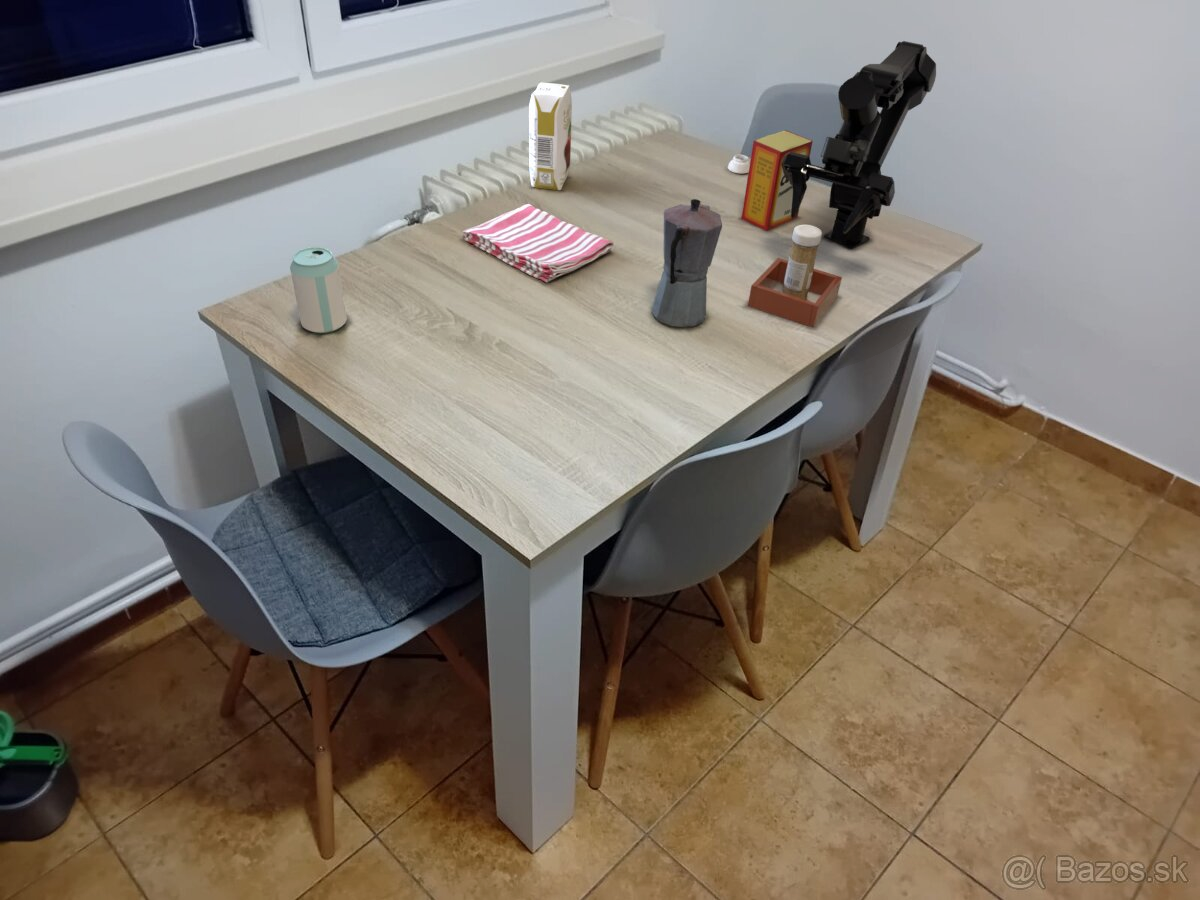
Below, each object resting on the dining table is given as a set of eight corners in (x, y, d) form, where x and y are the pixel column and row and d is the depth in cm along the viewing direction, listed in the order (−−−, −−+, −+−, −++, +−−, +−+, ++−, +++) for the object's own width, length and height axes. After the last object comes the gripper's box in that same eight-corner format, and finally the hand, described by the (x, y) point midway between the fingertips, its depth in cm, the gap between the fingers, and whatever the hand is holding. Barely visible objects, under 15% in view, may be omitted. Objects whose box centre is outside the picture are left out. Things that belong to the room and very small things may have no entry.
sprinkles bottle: (811, 304, 156) (828, 232, 147) (792, 311, 153) (807, 238, 145) (793, 292, 158) (808, 221, 150) (774, 298, 156) (788, 227, 148)
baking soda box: (772, 206, 185) (786, 128, 174) (797, 217, 181) (813, 138, 171) (741, 218, 180) (753, 139, 169) (766, 231, 176) (781, 150, 166)
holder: (774, 277, 162) (778, 257, 159) (837, 297, 158) (842, 277, 155) (747, 306, 154) (751, 285, 152) (813, 327, 150) (818, 306, 147)
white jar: (749, 176, 195) (751, 167, 199) (751, 163, 193) (753, 154, 197) (726, 173, 196) (728, 164, 200) (728, 160, 194) (730, 151, 198)
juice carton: (527, 188, 185) (526, 94, 173) (536, 171, 192) (536, 79, 180) (563, 193, 185) (565, 98, 172) (571, 176, 191) (574, 83, 179)
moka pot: (718, 300, 155) (734, 189, 142) (695, 346, 144) (711, 230, 131) (664, 288, 157) (676, 178, 144) (637, 333, 146) (648, 218, 133)
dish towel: (550, 286, 156) (550, 268, 154) (459, 239, 167) (458, 222, 165) (615, 253, 166) (616, 236, 164) (526, 211, 177) (525, 194, 175)
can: (298, 316, 145) (284, 248, 137) (342, 308, 147) (331, 241, 140) (305, 339, 140) (292, 270, 133) (351, 331, 143) (340, 262, 135)
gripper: (795, 102, 148) (758, 190, 148) (908, 129, 141) (869, 220, 141) (803, 135, 158) (769, 217, 158) (909, 162, 152) (872, 247, 151)
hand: (818, 225), depth 152 cm, fingers open, 9 cm apart
